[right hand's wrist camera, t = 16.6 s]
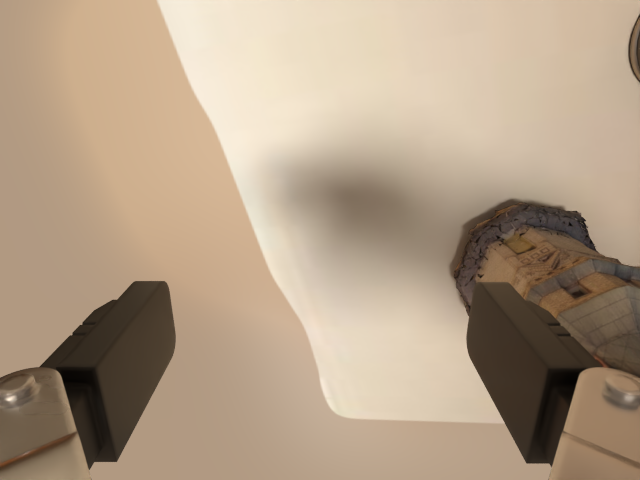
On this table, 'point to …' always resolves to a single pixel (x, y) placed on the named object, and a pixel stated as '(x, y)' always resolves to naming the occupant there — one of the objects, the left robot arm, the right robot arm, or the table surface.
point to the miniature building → (560, 278)
